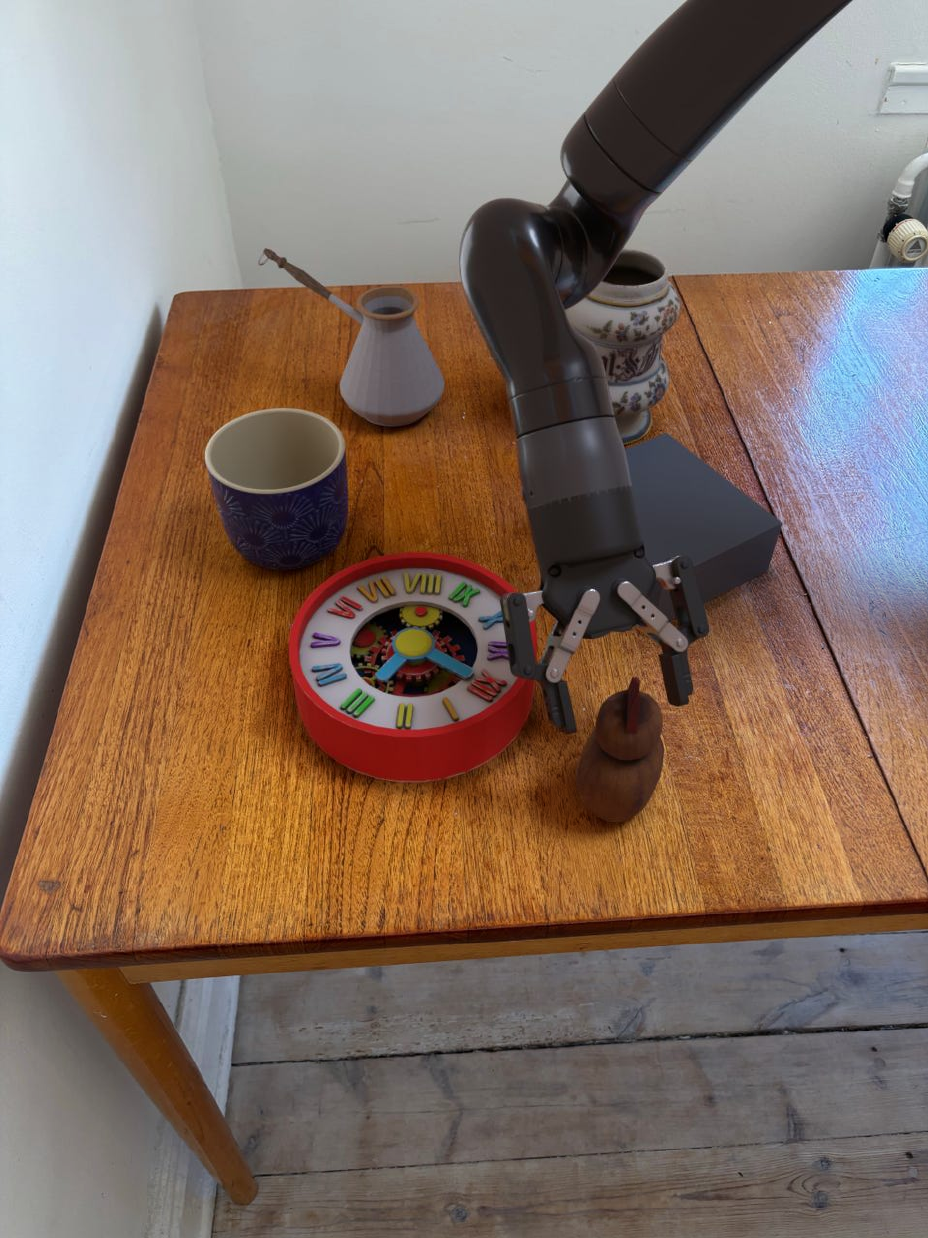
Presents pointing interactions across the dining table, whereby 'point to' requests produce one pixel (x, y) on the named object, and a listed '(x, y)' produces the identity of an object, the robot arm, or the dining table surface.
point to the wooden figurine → (622, 756)
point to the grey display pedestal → (697, 520)
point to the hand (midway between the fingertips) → (624, 718)
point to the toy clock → (408, 667)
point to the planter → (280, 486)
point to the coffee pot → (382, 353)
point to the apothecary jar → (631, 335)
